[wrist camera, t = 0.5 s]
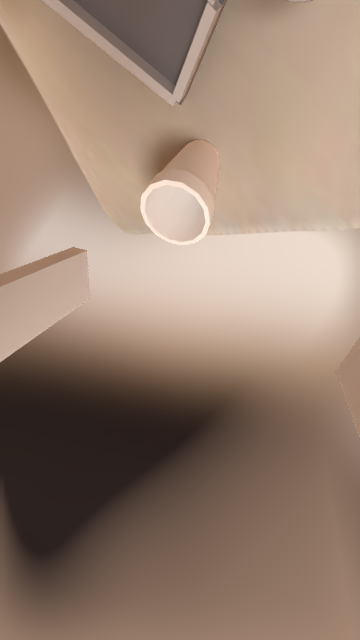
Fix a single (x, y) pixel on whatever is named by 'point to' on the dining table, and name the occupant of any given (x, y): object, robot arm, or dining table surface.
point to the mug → (299, 1)
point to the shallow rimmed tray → (148, 37)
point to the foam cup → (183, 195)
